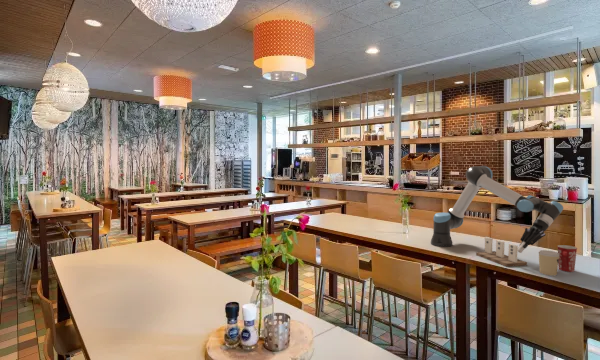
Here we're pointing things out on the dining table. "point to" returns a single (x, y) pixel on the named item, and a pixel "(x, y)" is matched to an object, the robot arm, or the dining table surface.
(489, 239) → the tile
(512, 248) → the tile
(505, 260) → the tap board
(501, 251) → the tile
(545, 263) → the coffee cup
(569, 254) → the mug
